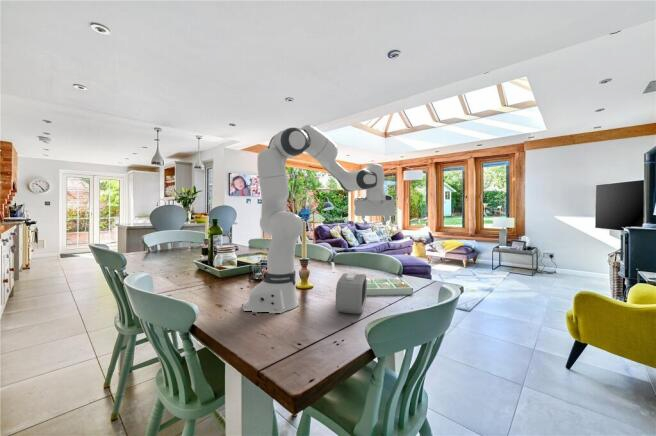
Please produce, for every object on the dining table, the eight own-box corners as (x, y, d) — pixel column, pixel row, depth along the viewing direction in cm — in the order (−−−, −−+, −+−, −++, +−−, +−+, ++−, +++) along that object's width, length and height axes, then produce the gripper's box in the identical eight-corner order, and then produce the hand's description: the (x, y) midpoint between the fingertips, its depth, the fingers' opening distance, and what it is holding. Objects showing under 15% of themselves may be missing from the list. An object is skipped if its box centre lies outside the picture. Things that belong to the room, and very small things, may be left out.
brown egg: (398, 291, 127) (400, 282, 126) (395, 288, 131) (397, 280, 131) (407, 294, 127) (409, 284, 127) (404, 290, 131) (406, 282, 131)
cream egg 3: (393, 288, 134) (393, 279, 134) (390, 285, 138) (391, 276, 138) (402, 287, 134) (402, 279, 134) (399, 285, 139) (399, 276, 138)
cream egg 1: (363, 288, 133) (363, 279, 133) (361, 285, 138) (361, 277, 137) (372, 288, 134) (372, 279, 133) (370, 285, 138) (370, 277, 138)
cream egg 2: (382, 293, 126) (382, 284, 126) (379, 290, 131) (379, 281, 130) (391, 293, 126) (391, 283, 126) (389, 290, 131) (389, 281, 131)
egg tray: (362, 296, 124) (362, 288, 124) (357, 286, 139) (357, 279, 139) (412, 295, 125) (413, 287, 125) (401, 285, 141) (402, 278, 140)
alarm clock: (361, 319, 100) (361, 283, 99) (335, 316, 102) (335, 281, 102) (366, 299, 120) (367, 269, 119) (345, 298, 122) (345, 268, 122)
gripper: (355, 197, 132) (355, 225, 133) (396, 196, 133) (396, 225, 134) (353, 197, 139) (353, 224, 139) (393, 197, 140) (392, 224, 141)
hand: (374, 225), depth 137 cm, fingers open, 8 cm apart
